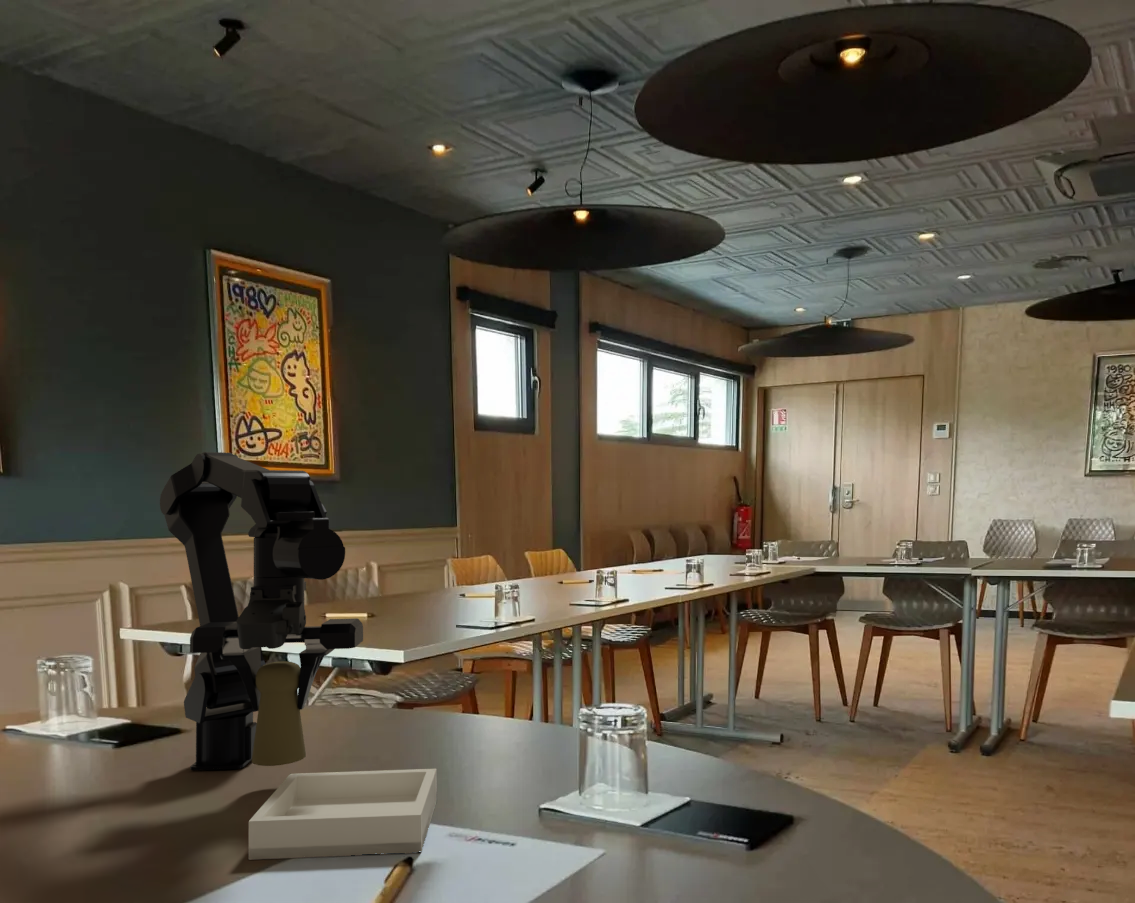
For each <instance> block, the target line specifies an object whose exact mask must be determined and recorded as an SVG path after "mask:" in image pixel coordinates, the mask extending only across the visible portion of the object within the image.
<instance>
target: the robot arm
mask: <svg viewBox="0 0 1135 903" xmlns="http://www.w3.org/2000/svg"><path fill="white" fill-rule="evenodd" d="M311 479H312V478H311V477H310V475H309V474H308V473H307V471H306V470H305V471H304V470H289V469H288V470H285V469H284V470H277V469H276V470H275V469H271V470H270V469H269V468H266V467H263V466H261V465H258V464H256V463H253V462H250V461H248V460H245V459H243V458H240V457H239V456H238V455H237V454H233V453H232V452H222V451H221V452H220V451H219V452H216V451H215V452H214V451H210V452H209V451H203V452H201V453H197V454H196V455H195V456H194V458H193V460H192V462H191V463H190V464H188V465H186V466H184V467H183V468H181V469H180V470H177V471H176V472H175V473H173V474H171V475H170V477H169V479H168V480H167V482H166V484H165V486H164V487H163V489H162V491H161V493H160V496H159V497H160V498H159V507H160V512H161V514H162V515H163V516H164V520H165V522H166V525H167V529H168V531H169V532H170V534H172V535H173V537H175V538H176V539H177V540H178V542H180V543H181V544H182V545H183V546H184V549H185V554H186V558H187V565H188V570H189V574H190V580H191V586H192V591H193V595H194V596H193V597H194V601H195V602H194V603H195V605H196V606H195V607H196V611H197V617H198V622H199V626H197V627H195V628H194V630H192V632H191V635H190V638H189V653H191V654H199V655H198V657H197V660H196V663H195V665H194V667H193V668H194V678H193V680H192V683H191V685H190V687H189V689H188V691H187V693H186V695H185V698H184V700H183V708H184V715H185V718H186V719H188V720H191V721H193V722H195V762H194V763H192V764H191V765H190V771H208V770H209V771H210V770H211V771H212V770H213V771H214V770H234V769H235V770H237V769H242V768H244V767H245V766H246V765H248V764H249V763H250V762H252V755H253V747H254V740H255V732H256V725H257V721H254V713H255V712H258V710H259V703H260V695H261V693H260V691H259V690H258V689H257V686H256V674H257V672H258V670H259V668H260V667H261V666H263V665H265V664H266V662H265V658H264V656H263V649H262V648H266V649H273V650H274V649H279V648H281V647H282V646H284V644H288V643H290V644H291V643H292V644H293V643H294V644H296V643H297V644H298V643H304V646H305V649H304V650H302V651H300V652H299V653H298V654H299V655H298V656H299V662H300V679H299V688H298V689H297V692H298V709H299V710H300V711H302V710H303V709H304V708H305V706H306V703H307V700H308V697H309V694H310V692H311V689H312V685H313V683H314V680H315V677H316V675H317V672H318V670H319V668H320V666H321V664H322V661H323V660H324V658H325V657H326V656H327V655H329V654H330V653H332V652H333V651H335V650H340V649H341V650H343V649H344V650H345V649H346V650H347V649H348V650H349V649H353V648H354V649H355V648H356V647H357V646H359V645H360V644H361V643H362V642H363V641H364V625H363V622H362V621H361V620H360V619H359V618H330V619H328V620H326V621H324V622H322V623H321V624H320V625H315V626H309V625H308V626H306V624H307V615H306V609H305V591H307V581H305V579H310V580H319V581H322V580H327V579H330V578H331V577H333V576H335V575H336V574H337V573H338V572H339V571H340V570H341V568H342V566H343V565H344V562H345V559H346V558H345V557H346V547H345V546H344V542H343V540H342V539H341V536H339V534H338V533H336V531H334V530H332V529H331V528H330V520H329V518H328V517H327V513H328V512H327V510H326V508H325V506H324V504H323V503H322V501H321V499H320V496H319V494H318V492H317V489H316V486H315V483H314V482H313V481H312V480H311ZM237 498H240V499H241V502H240V507H241V508H242V509H243V511H244V512H246V513H247V514H248V515H249V516H250V517H251V519H252V520H253V522H254V523H255V524H254V525H253V526H252V527H251V528H249V531H248V533H247V534H248V537H250V538H253V586H251V587H250V592H249V602H248V604H247V606H246V607H245V608H244V609H243V610H242V611H241V613H240V615H239V612H238V607H237V603H236V602H237V601H236V598H235V593H234V588H233V583H232V578H231V574H230V570H229V568H230V567H229V565H228V559H227V554H226V551H225V550H226V549H225V546H224V541H223V536H222V535H223V534H222V533H223V530H224V529H225V526H226V524H227V522H228V520H229V518H230V516H231V515H230V508H231V506H232V505H233V504H234V502H235V501H236V500H237Z"/></svg>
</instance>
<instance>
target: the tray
mask: <svg viewBox="0 0 1135 903" xmlns="http://www.w3.org/2000/svg"><path fill="white" fill-rule="evenodd" d="M437 771H438V770H437V768H417V769H416V768H415V769H414V768H413V769H412V768H411V769H387V770H361V771H360V770H358V771H355V770H354V771H337V772H336V771H334V772H333V771H332V772H331V771H329V772H327V771H326V772H303V773H298V772H297V773H290V774H289V775H287V777H286V778H285V779H284V780H283V782H281V783H280V785H279V786H278V787H277V789H276V790H274V792H273V793H272V794H271V795H270V796H269V797H268V799H266V801H265V802H264V803H263V804H262V805H261V806H260V808H259V809H257V811H256V812H255V813H254V814H253V815H252V816H251V818H250V819H249V821H248V861H249V860H254V861H255V860H276V859H278V860H279V859H299V858H301V859H303V858H324V857H325V858H326V857H327V858H328V857H329V858H330V857H348V856H349V857H352V856H351V855H355V856H363V855H362V854H375V853H377V854H380V855H382V854H381V853H384V854H383V855H387V854H386V853H405V854H413V853H412V852H419V851H423V849H422V847H423V848H424V845H423V844H425V842H424V841H426V839H425V838H427V836H428V832H429V829H430V825H431V821H432V818H433V815H434V811H435V808H436V806H437V805H436V804H437V801H438V794H437V793H438V791H437V790H438V788H437V787H438V785H437V784H438V782H437V781H438V780H437V779H438V777H437V776H438V775H437ZM428 828H429V829H428Z"/></svg>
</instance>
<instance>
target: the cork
mask: <svg viewBox="0 0 1135 903" xmlns="http://www.w3.org/2000/svg"><path fill="white" fill-rule="evenodd" d="M300 668H301V665H299V664H297V663H296V662H292V661H274V662H269V663H265V665H263V666H261V667H260V668H259V670H258V672H257V674H256V686H257V689H258V690H259V691H260V693H261V695H260V703H259V710H258V711H257V719H256V723H257V725H256V732H255V740H254V747H253V755H252V760H251V763H252V764H254V765H257V766H263V767H274V766H276V767H277V766H283V765H289V764H293V763H297V762H299V761H301V760H304V758H306V756H307V753H306V744H305V738H304V737H305V736H304V730H303V722H302V715H301V710H299V709H298V690H299V679H300Z"/></svg>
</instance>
